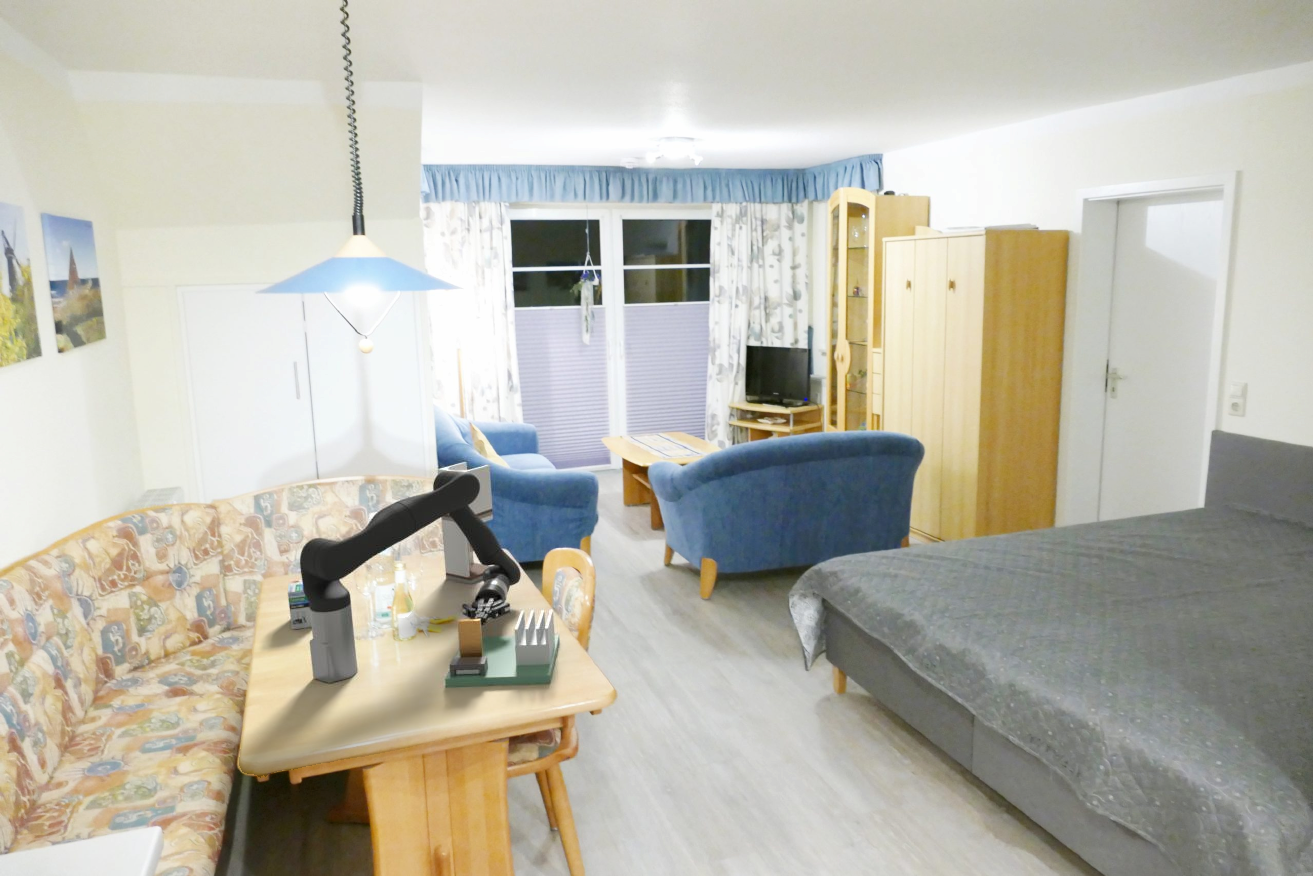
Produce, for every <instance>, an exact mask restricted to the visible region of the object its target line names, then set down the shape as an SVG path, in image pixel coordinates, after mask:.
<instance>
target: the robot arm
mask: <svg viewBox="0 0 1313 876" xmlns="http://www.w3.org/2000/svg"><path fill="white" fill-rule="evenodd" d="M479 491H480V483H479V480H478V479H477V477H475V476H474V475H473V474H471V473H468V472H461V471H444V472H441V473H440V474H438V473H437V475H436V477H435V478H434V480H433V484H432V491H429V492H426V493H422V494H417V495H413V496H409V497H406V498H402V499H400V500H397V501H395V502H393V503H391V504H389V505H388V506H385V507H384V508H382V509H381V510H379V511H378V512H376V513H375V514H374V515H373V516H372V518H371V519H370V520H369V522H368V524H367V525H366V527H364V528H363V529H362V530H360V531H359V532H358V533H356V534H354V535H351V536H350V537H347V538H344V539H342V540H332V539H330V538H329V539H328V538H324V537H316V538H312V539H310V540H309V541H307V542H306V543H305V545H304V546H303V548H302V550H301V552H300V557H299V568H300V576H301V580H302V582H303V588H304V593H305V596H306V598H307V600H308V602H309V607H310V615H311V625H312V627H311V632H312V633H311V635H312V638H311V639H310V640H309V649H310V651H309V652H310V658H311V659H310V660H311V667H312V669H311V670H312V678H313V679H315V680H319V681H322V682H324V683H328V684H331V683H333V682H339V681H343V680H347V679H349V678H352V677H353V676H355V674H357V672H358V660H357V651H356V642H355V631H354V630H355V629H354V621H353V611H352V600H351V593H350V591H349V590H348V588H346V587H345V586H344V584H343V583H342V582H341V580H342V579H344V578H345V577H347V576H349V575H350V574H351V573H353V572H354V571H355V570H357V569H358V568H360V567H361V566H362V565H364V564H365V563H366V562H367V561H369V560H371V559H372V558H374V557H375V556H377V555H378V554H380V553H382V552H385V551H386V550H387V549H389V548H390V547H392V546H394V545H395V544H398V543H400V542H402V541H403V540H405V539H408V538H409V537H411V536H412V535H414V534H415V533H418V532H419V531H420V530H422V529H424V528H426V527H427V526H429V525H431V524H433V523H434V522H436V521H437V520H439V519H441V517H443V516H444V515H446V514H449V515H450V516H451V517H452V519H453V520H454V521H455V523H456V524H457V525H458V527H459V528H460V529H461V531H462V532H463V534H464V535H465V536H466V538H467V540H468V541H469V543H470V545H471V547H472V549H473V553H474V554H475V556H476V559H478V561H479V564H483V565H488V566H491V567H489V568H487V569H485V570H484V572H483V579H482V581H483V584H482V585H481V587H480V588H479V591H478V592H477V594H476V596H475V598H474V601H472V602H471V604H467V603H462V604H461V608H462V610H461V612H462V615H463V616H465V617H466V618H467V619H481V626H484V625H485V624H487V623H488V620H490V619H492V620H495V619H499V618H501V617H503V616H506V615H508V614H510V613H511V603H510V602H506V601H507V597H508V593H509V591H510V587H511V586H514V585H516V584H518V583H519V582H520V580H521V577H522V576H521V575H522V573H521V569H520V567H519V566H518V564H517V563H516V562H515V561H514V560H513V558H511V557H510V556H509V554H507V553H506V552H505V550H504V549H503V548H502V547H501V545H500V543H499V541H498V539H497V538H496V536H495V534H494V532H493V530H492V529H491V528H490V527H489V526H488V525H487V523H485V522H483V521H482V520H481V519H480V518H479V517H478V516H477V515H476V514H475V513H474V512H473V511H472V509H471V508H470V507H469V506H468V505H469V504H471V503H472V502H473V501H474V500H475V499H476V498H477V496H478V494H479Z"/></svg>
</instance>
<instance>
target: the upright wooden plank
mask: <svg viewBox="0 0 1313 876" xmlns="http://www.w3.org/2000/svg"><path fill="white" fill-rule="evenodd" d="M457 631H458V645H459V647H458V648H459V649H460V658H463V657H483V645H482V637H483V635H482V634H483V633H482V625H481V619H470V618H465V619H458V620H457ZM456 671H457V674H479V673H480V669H465V670H456Z"/></svg>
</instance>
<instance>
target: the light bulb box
mask: <svg viewBox="0 0 1313 876" xmlns="http://www.w3.org/2000/svg"><path fill="white" fill-rule="evenodd" d="M287 598H288V605H289V614H290V615H289V616H290V624H291V630H292V629H293V630H299V629H306V628H312V625H311V615H310V607H309V602H308V600H307V598H306V596H305V593H304V588H303V582H302V579H296V580H294V579H293V580H289V581H288V588H287Z"/></svg>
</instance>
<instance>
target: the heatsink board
mask: <svg viewBox="0 0 1313 876" xmlns="http://www.w3.org/2000/svg"><path fill="white" fill-rule="evenodd" d="M529 613H530V614H529V617H528V619H527V622H526V620H525V619H526V618H525V610H521V611H520V614H519V616H518V619H517V620H516V621H517V622H516V625H515V628H514V635H499V636H498V635H493V636H482V645H483V657H463V658H460V648H459V650H458V651H457V654H456V656H455V657H452V659H451V661H450V663H449V670H448V673H447V675H446V676H445V678H444V682H445V688H456V687H458V688H459V687H460V688H461V687H483V686H484V687H485V686H487V687H488V686H513V685H514V686H516V685H517V686H518V685H543V684H544V685H545V684H547V685H548V684H551V682H552V676H553V672H554V667H555V663H556V659H557V655H558V649H559V645H560V641H561V640H560V634H559V633H555V623H554V622H555V621H554V609H549V612H548V616H547V620H546V614H545V609H541V610H540V615H539V618H538V621H537V623H536V618H535V617H536V615H535V609H531V611H530V612H529ZM525 622H526V623H525ZM465 669H480V673H479V674H457V671H456V670H465Z"/></svg>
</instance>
